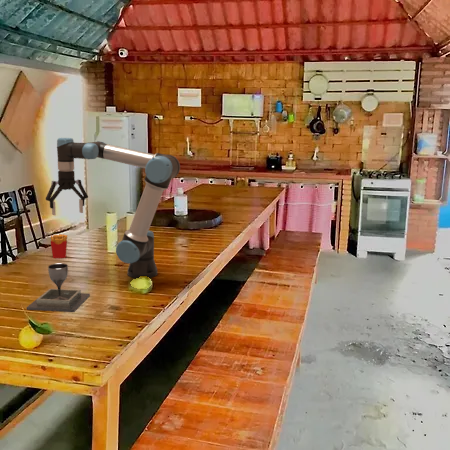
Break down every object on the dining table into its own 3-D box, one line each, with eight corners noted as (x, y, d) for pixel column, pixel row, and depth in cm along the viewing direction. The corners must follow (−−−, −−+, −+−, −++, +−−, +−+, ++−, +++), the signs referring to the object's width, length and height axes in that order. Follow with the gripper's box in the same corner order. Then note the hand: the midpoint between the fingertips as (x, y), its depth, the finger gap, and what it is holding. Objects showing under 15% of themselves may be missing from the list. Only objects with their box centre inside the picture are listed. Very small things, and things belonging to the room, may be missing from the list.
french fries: (50, 258, 289) (49, 235, 286) (52, 256, 293) (51, 234, 290) (67, 258, 290) (66, 235, 288) (68, 256, 295) (68, 233, 292)
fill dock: (89, 295, 231) (89, 288, 230) (74, 311, 211) (73, 303, 211) (46, 293, 232) (46, 286, 231) (26, 309, 213) (26, 301, 212)
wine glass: (49, 303, 218) (47, 269, 214) (50, 296, 225) (48, 263, 222) (69, 301, 220) (67, 268, 216) (69, 295, 227) (68, 262, 224)
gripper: (88, 168, 258) (89, 210, 262) (37, 170, 243) (39, 214, 248) (93, 170, 252) (95, 212, 256) (42, 172, 237) (44, 217, 242)
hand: (67, 213), depth 252 cm, fingers open, 13 cm apart
